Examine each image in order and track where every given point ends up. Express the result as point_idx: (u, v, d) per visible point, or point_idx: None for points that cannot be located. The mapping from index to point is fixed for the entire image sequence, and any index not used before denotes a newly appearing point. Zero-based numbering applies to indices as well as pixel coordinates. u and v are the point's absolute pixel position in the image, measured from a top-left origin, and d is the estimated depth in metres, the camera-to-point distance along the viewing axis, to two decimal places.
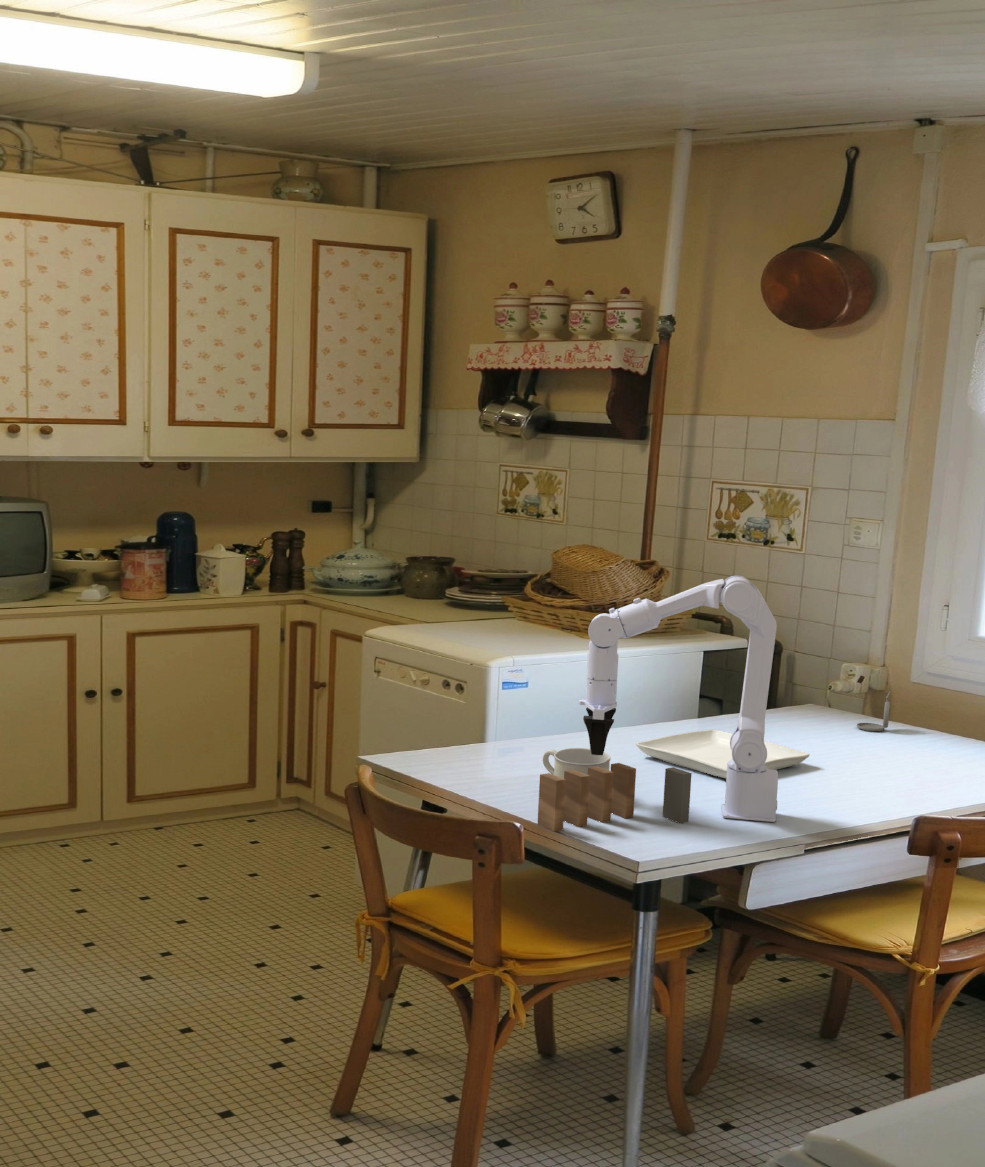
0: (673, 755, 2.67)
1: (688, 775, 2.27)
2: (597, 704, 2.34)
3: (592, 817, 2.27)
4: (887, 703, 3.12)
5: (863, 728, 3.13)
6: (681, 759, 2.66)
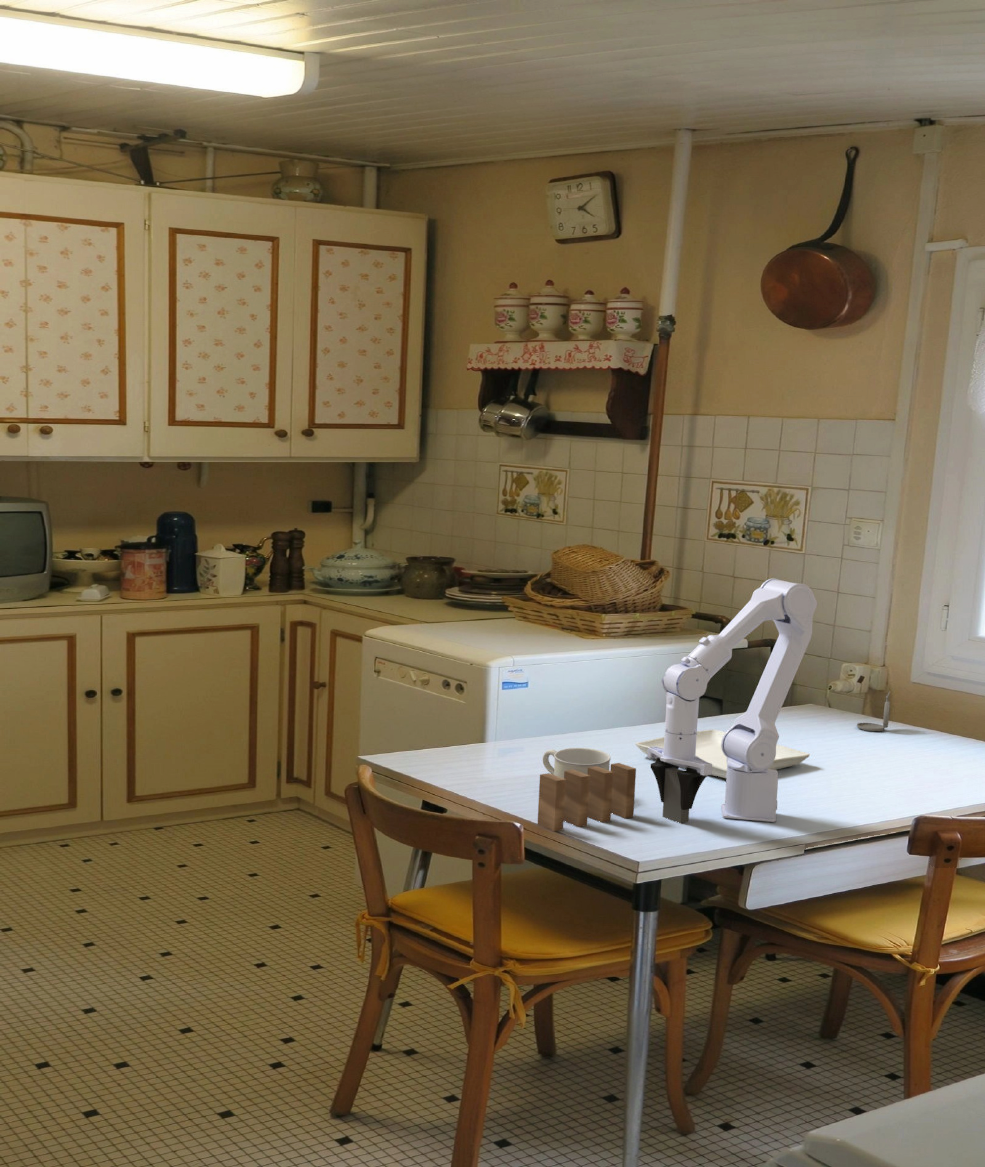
0: None
1: None
2: (689, 759, 2.26)
3: (592, 817, 2.27)
4: (887, 703, 3.12)
5: (863, 728, 3.13)
6: None
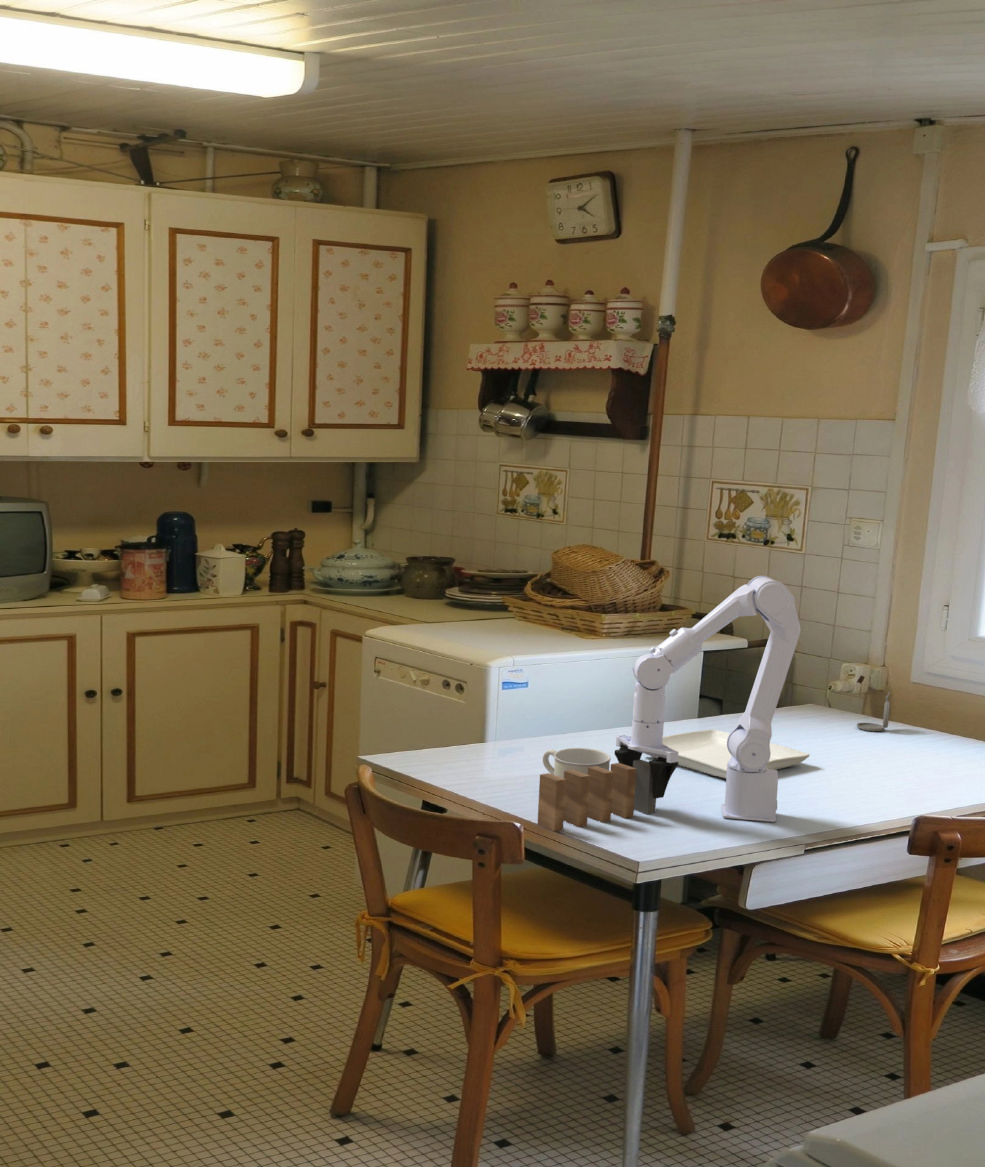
0: None
1: None
2: (656, 747, 2.30)
3: (592, 817, 2.27)
4: (887, 703, 3.12)
5: (863, 728, 3.13)
6: (681, 759, 2.66)
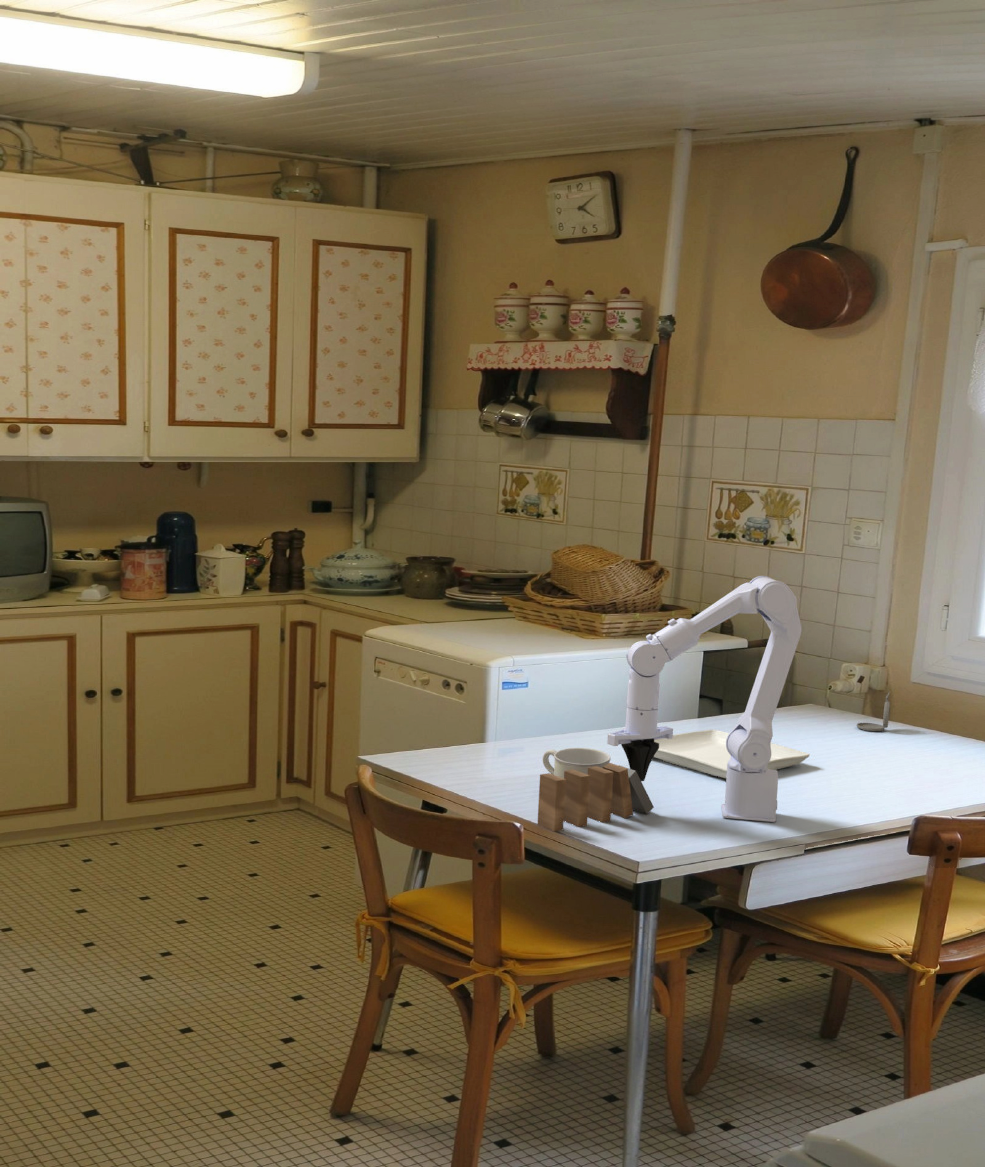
0: (673, 755, 2.67)
1: (633, 775, 2.29)
2: (627, 731, 2.30)
3: (592, 817, 2.27)
4: (887, 703, 3.12)
5: (863, 728, 3.13)
6: (681, 759, 2.66)
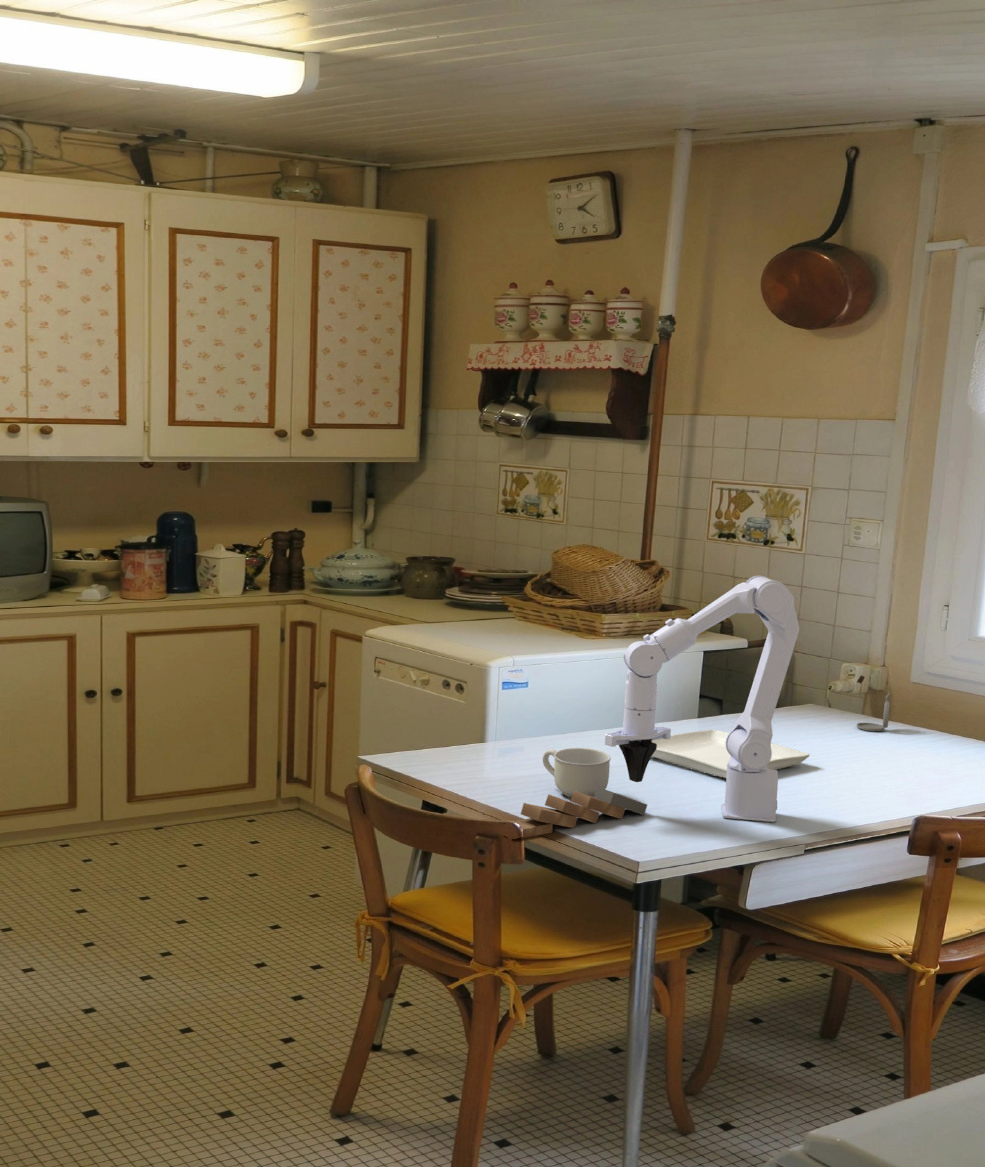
0: (673, 755, 2.67)
1: (613, 797, 2.26)
2: (625, 732, 2.30)
3: None
4: (887, 703, 3.12)
5: (863, 728, 3.13)
6: (681, 759, 2.66)
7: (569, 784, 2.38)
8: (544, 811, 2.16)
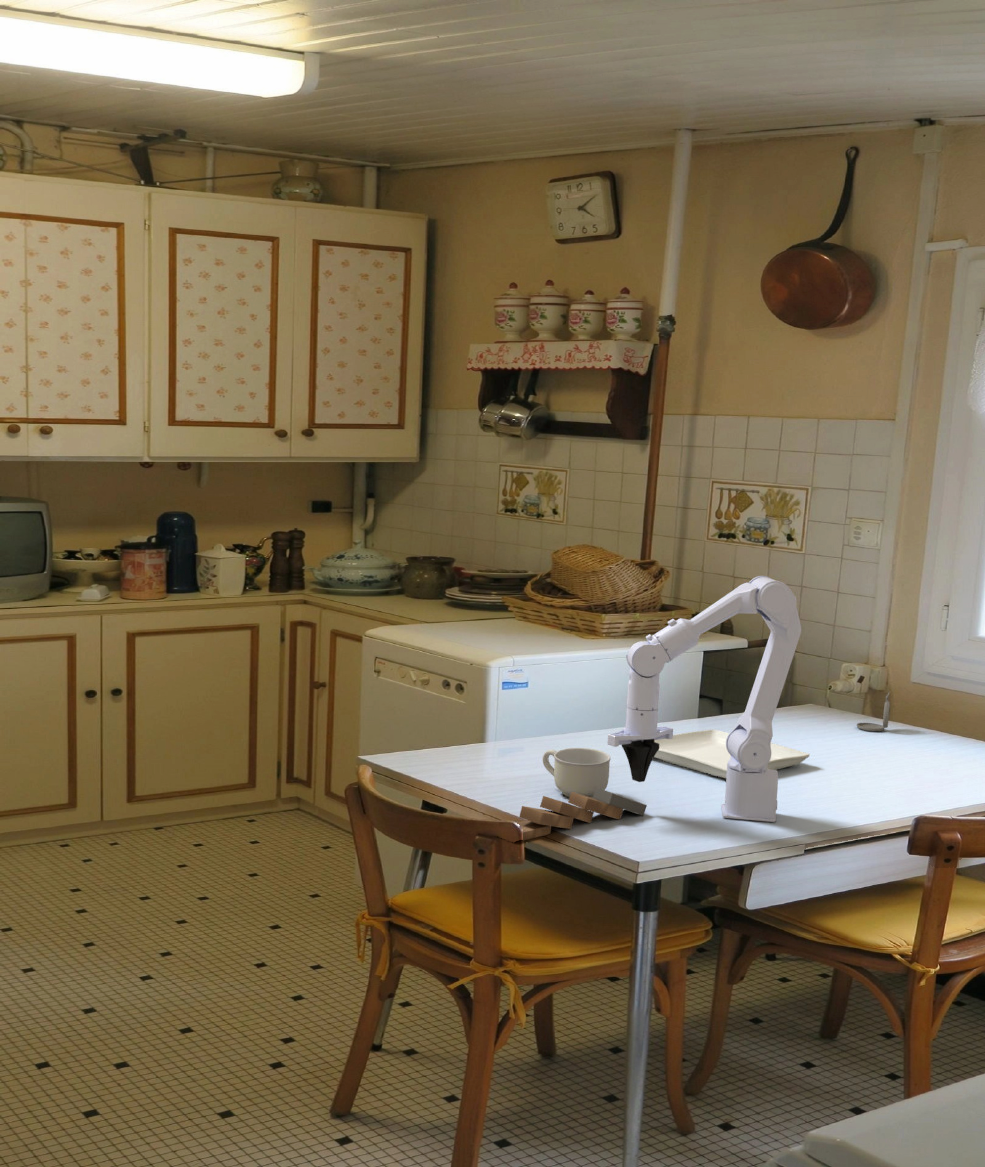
0: (673, 755, 2.67)
1: (612, 798, 2.26)
2: (627, 732, 2.30)
3: None
4: (887, 703, 3.12)
5: (863, 728, 3.13)
6: (681, 759, 2.66)
7: (569, 784, 2.38)
8: (545, 814, 2.15)
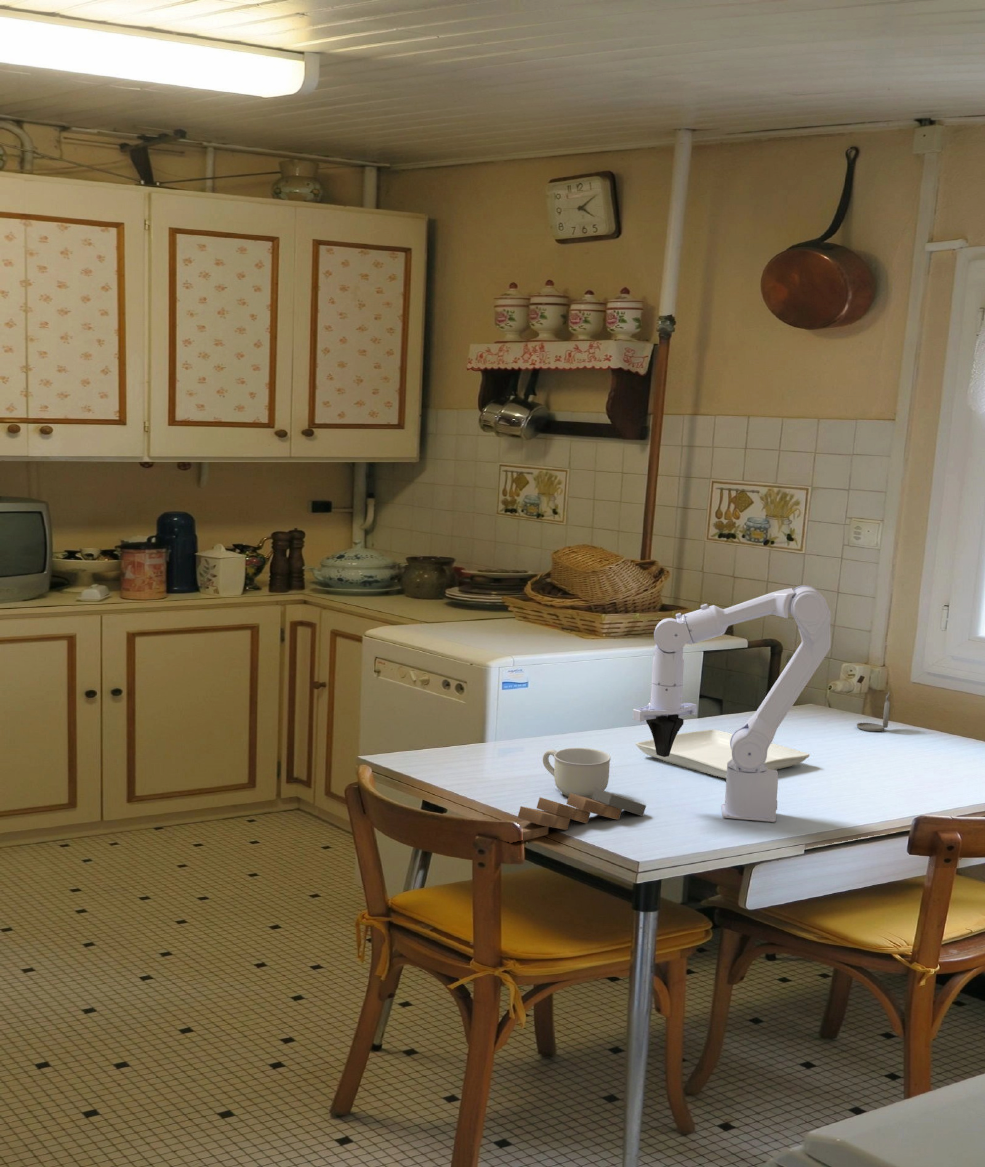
0: (673, 755, 2.67)
1: (611, 799, 2.26)
2: (652, 707, 2.33)
3: None
4: (887, 703, 3.12)
5: (863, 728, 3.13)
6: (681, 759, 2.66)
7: (569, 784, 2.38)
8: (544, 814, 2.14)
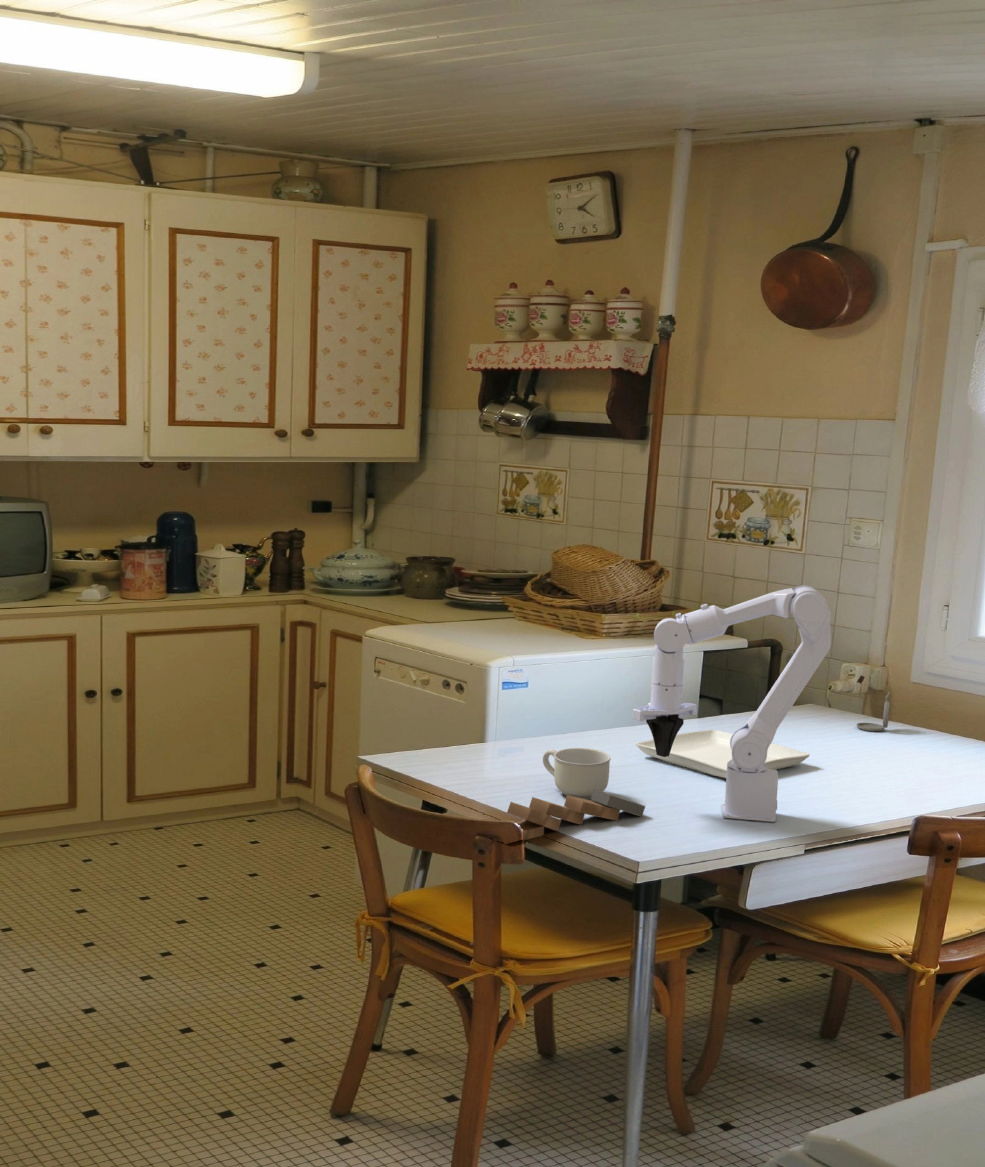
0: (673, 755, 2.67)
1: (610, 800, 2.25)
2: (652, 707, 2.33)
3: None
4: (887, 703, 3.12)
5: (863, 728, 3.13)
6: (681, 759, 2.66)
7: (569, 783, 2.38)
8: (533, 810, 2.13)
